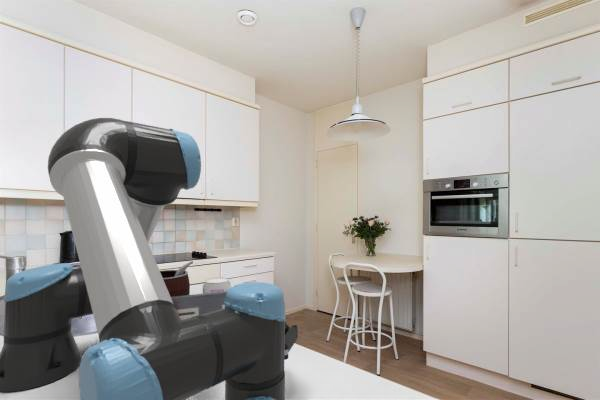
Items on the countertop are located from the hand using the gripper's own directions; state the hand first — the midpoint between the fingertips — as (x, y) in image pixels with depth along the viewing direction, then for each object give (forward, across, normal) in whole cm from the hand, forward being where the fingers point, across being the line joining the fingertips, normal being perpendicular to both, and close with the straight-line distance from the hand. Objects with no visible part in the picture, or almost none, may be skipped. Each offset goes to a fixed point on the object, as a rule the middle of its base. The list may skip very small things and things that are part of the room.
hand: (246, 321), depth 70 cm
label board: (+15, -9, -11) cm, 21 cm away
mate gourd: (+29, -22, -12) cm, 38 cm away
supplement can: (+26, -8, -12) cm, 30 cm away
